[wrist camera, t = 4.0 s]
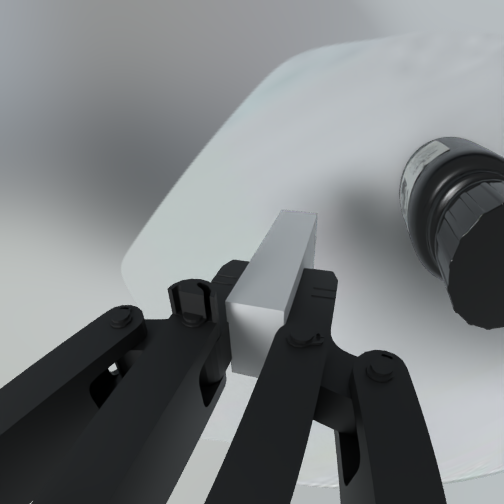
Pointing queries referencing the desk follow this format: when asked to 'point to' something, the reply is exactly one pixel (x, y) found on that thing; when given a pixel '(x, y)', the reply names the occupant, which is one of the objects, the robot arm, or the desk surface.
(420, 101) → the desk surface
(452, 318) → the desk surface
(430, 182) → the ink bottle
